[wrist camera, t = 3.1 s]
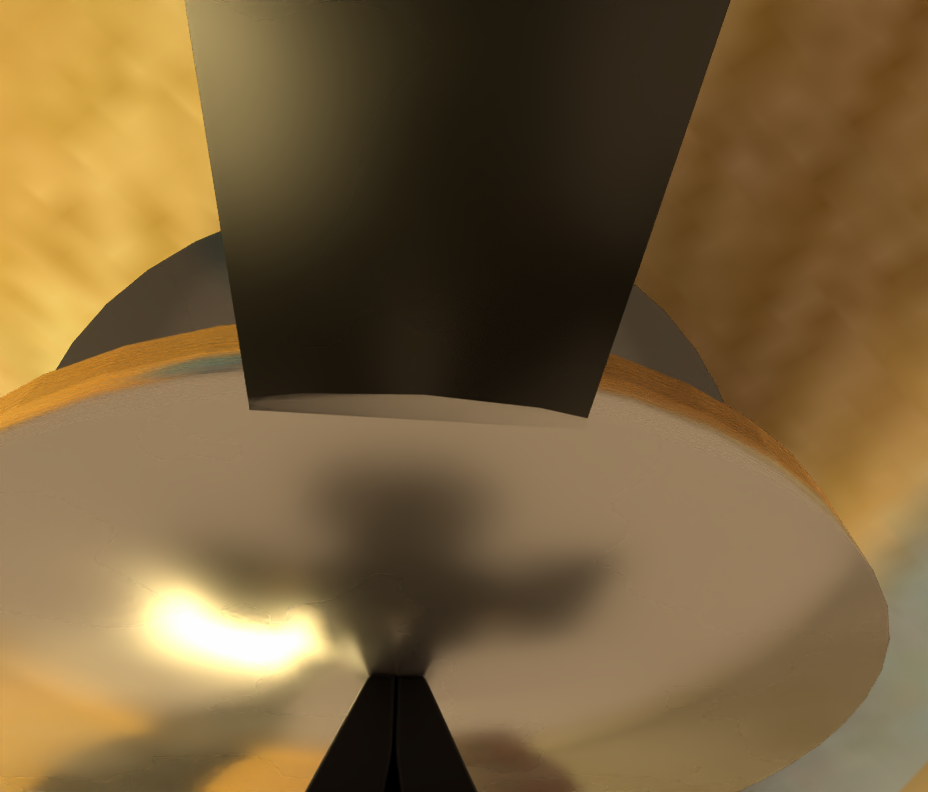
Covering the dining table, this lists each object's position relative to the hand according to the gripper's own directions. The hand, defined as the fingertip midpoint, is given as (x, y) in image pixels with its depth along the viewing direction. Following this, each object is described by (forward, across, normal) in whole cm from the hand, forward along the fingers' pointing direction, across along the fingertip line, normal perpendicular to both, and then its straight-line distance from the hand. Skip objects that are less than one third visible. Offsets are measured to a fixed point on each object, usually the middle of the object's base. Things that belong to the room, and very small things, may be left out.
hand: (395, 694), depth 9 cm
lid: (+1, 0, 0) cm, 1 cm away
